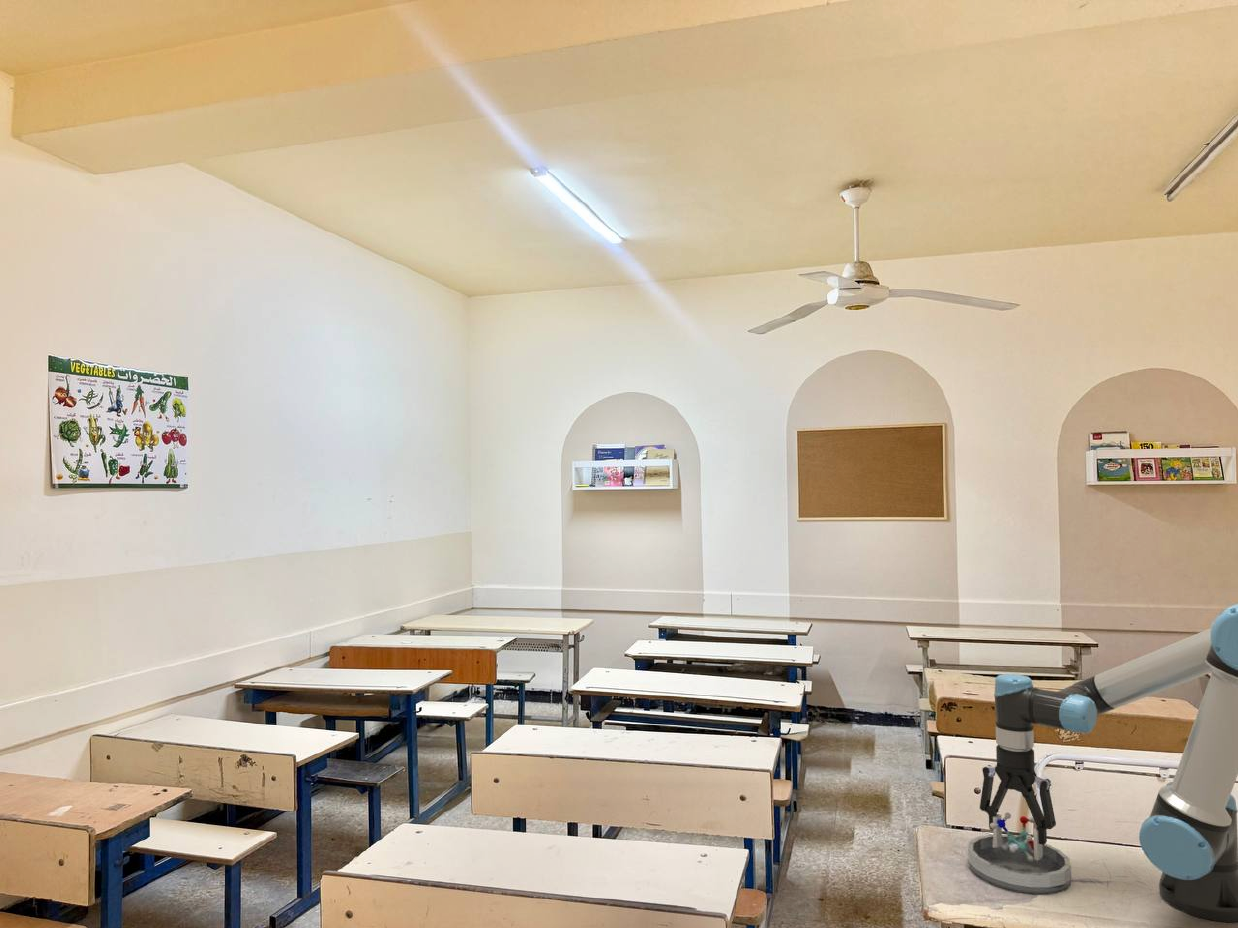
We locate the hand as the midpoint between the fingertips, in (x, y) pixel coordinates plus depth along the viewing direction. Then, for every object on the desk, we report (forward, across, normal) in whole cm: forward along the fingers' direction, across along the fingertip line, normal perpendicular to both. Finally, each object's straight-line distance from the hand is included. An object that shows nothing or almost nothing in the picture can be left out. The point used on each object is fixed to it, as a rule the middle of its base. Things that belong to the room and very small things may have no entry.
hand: (1017, 851), depth 177 cm
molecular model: (0, 0, 0) cm, 1 cm away
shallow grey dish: (+4, 0, 0) cm, 4 cm away
